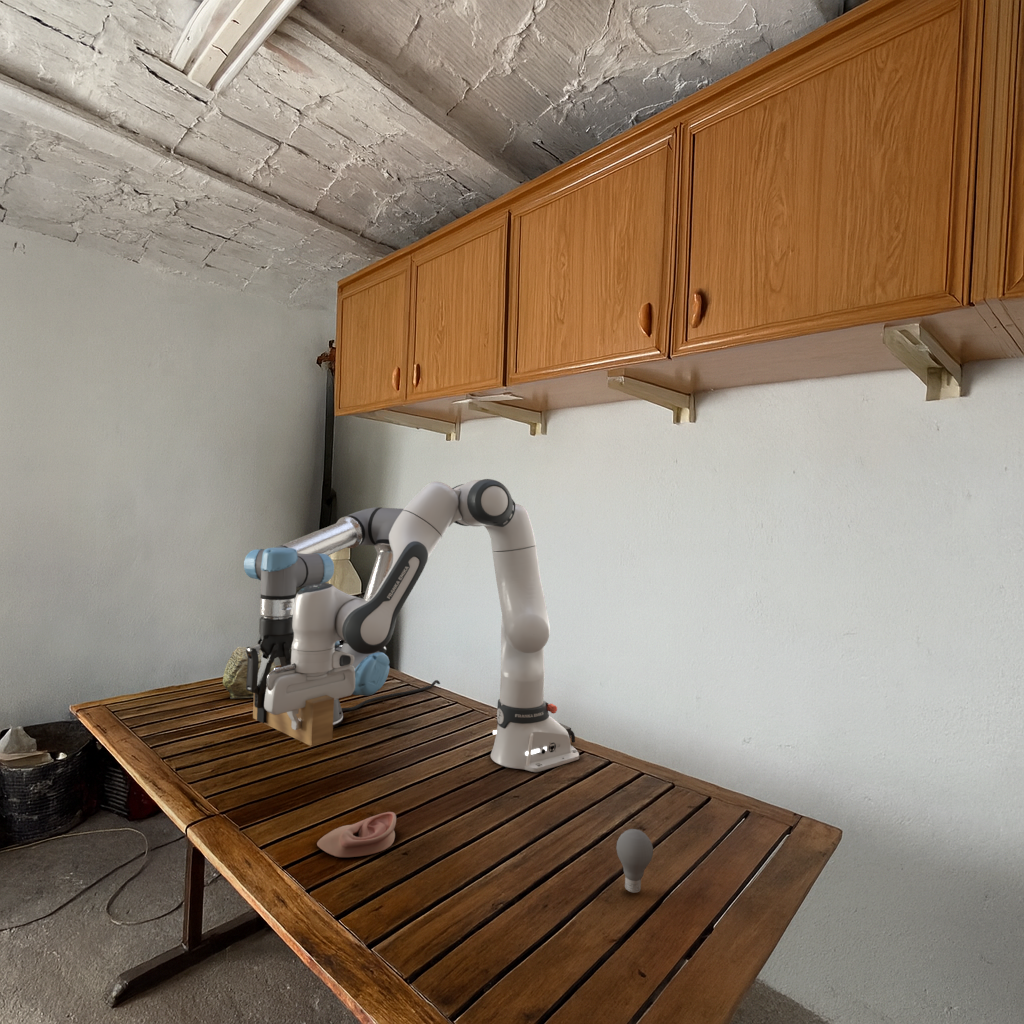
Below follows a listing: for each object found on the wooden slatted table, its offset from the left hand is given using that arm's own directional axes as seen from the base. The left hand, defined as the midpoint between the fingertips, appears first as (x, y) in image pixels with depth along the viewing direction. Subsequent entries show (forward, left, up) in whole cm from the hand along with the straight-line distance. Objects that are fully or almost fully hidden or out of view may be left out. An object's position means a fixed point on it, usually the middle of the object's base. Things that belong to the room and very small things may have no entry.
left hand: (273, 717), depth 144 cm
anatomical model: (+5, +37, -13) cm, 40 cm away
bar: (0, +7, -1) cm, 7 cm away
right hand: (0, +14, +2) cm, 14 cm away
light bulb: (-17, +83, -13) cm, 85 cm away
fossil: (-26, -54, -13) cm, 61 cm away
